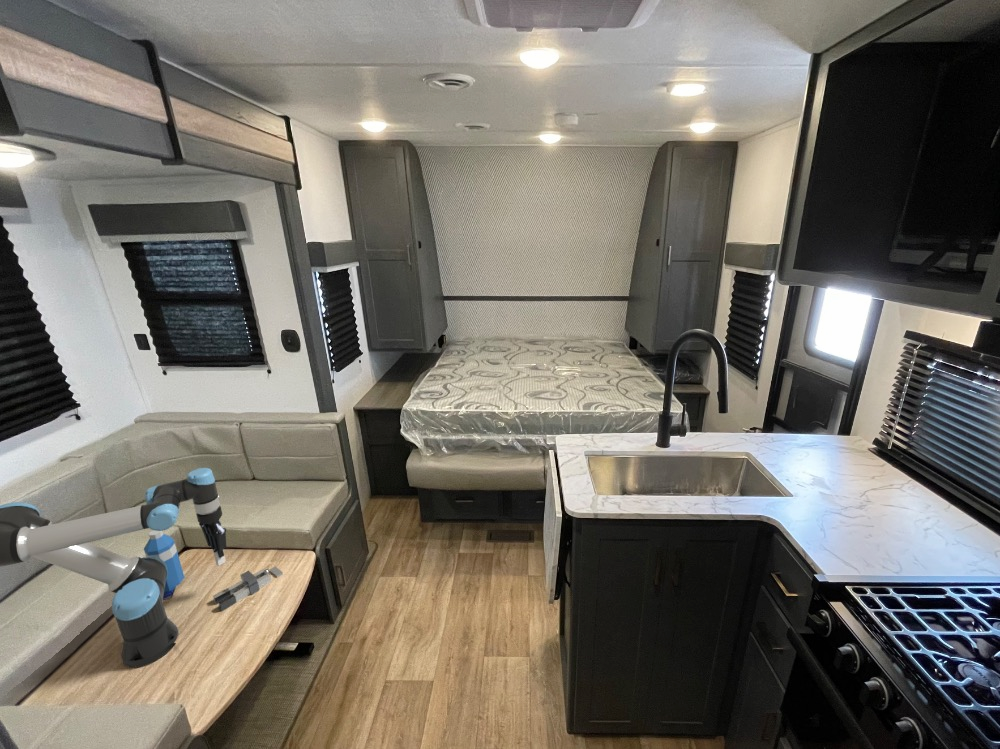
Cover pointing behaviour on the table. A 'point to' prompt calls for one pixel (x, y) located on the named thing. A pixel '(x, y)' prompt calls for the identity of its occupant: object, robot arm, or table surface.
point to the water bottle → (165, 557)
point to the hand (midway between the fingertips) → (221, 562)
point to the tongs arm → (236, 587)
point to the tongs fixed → (247, 590)
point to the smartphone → (168, 594)
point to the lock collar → (250, 581)
